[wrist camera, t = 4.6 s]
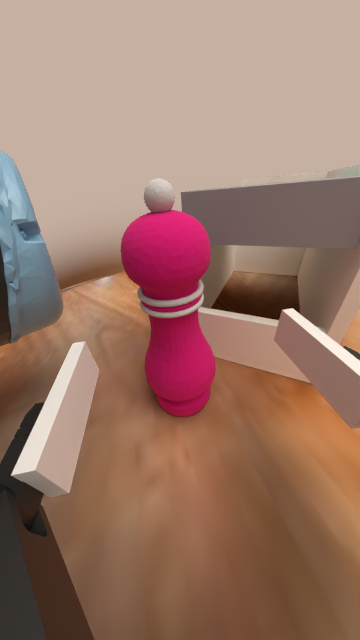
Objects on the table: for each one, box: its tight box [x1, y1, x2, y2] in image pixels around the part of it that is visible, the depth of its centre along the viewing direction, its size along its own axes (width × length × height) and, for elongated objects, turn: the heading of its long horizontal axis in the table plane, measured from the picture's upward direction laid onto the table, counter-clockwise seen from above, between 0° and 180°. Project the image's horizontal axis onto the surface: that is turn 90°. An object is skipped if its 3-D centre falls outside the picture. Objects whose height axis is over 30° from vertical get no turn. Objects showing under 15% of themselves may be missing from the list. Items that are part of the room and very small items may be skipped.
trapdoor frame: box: [198, 165, 360, 384], centre depth 31 cm, size 19×34×20 cm, turn 155°
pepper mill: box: [121, 179, 215, 416], centre depth 16 cm, size 7×7×20 cm
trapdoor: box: [181, 175, 360, 249], centre depth 23 cm, size 14×22×4 cm, turn 155°
